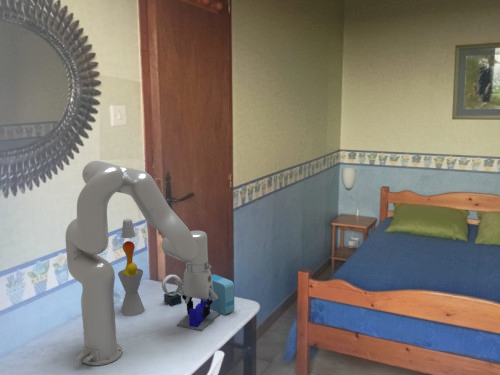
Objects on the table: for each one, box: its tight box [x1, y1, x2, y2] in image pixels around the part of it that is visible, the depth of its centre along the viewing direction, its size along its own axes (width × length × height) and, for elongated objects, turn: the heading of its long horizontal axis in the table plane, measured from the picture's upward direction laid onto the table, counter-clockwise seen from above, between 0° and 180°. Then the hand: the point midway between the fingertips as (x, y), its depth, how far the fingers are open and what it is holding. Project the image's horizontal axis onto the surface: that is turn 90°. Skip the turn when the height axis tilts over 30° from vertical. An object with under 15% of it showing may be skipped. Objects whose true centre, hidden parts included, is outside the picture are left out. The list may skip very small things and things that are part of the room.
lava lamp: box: [117, 218, 145, 317], centre depth 184 cm, size 9×9×35 cm
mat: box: [175, 310, 221, 332], centre depth 179 cm, size 14×10×1 cm
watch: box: [161, 274, 183, 307], centre depth 193 cm, size 6×8×11 cm
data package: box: [209, 273, 235, 316], centre depth 187 cm, size 12×4×12 cm, turn 45°
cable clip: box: [189, 297, 210, 327], centre depth 178 cm, size 12×4×6 cm, turn 163°
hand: (198, 314), depth 179 cm, fingers open, 5 cm apart
